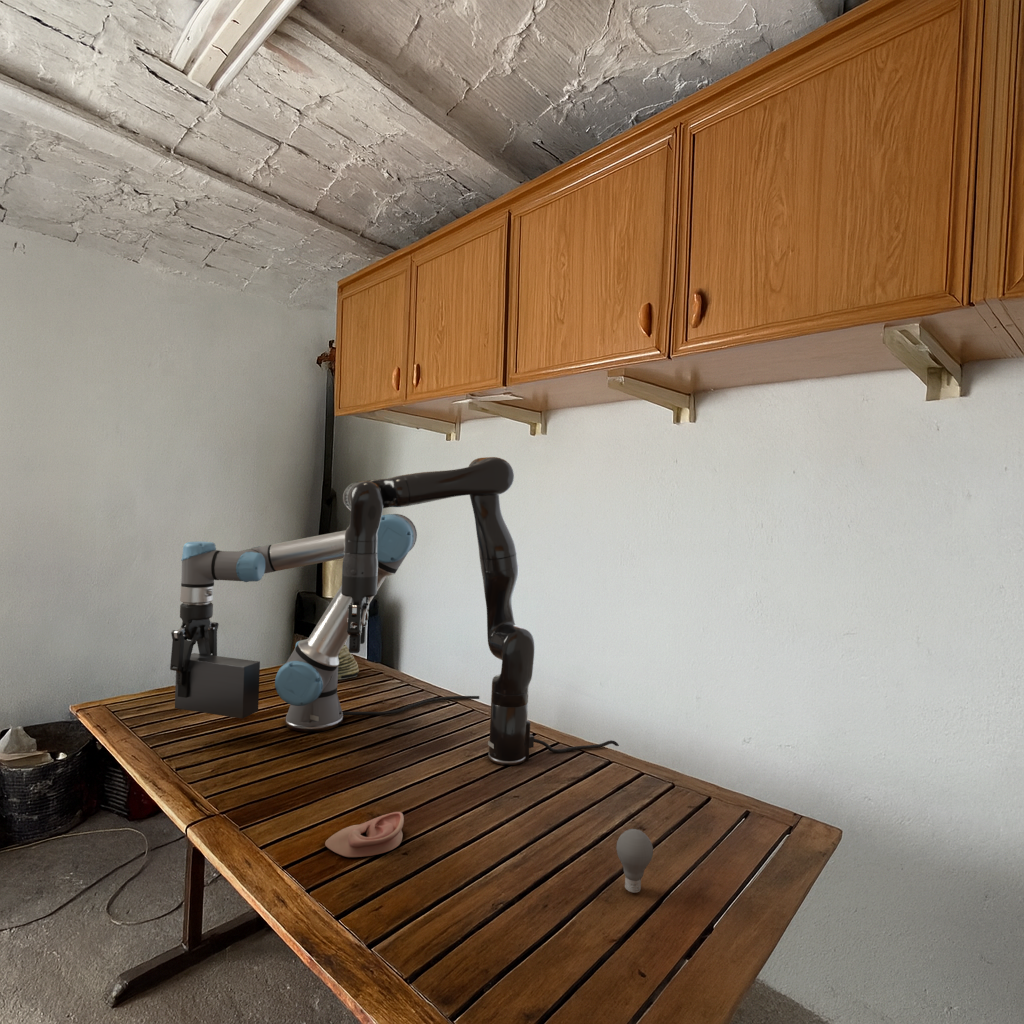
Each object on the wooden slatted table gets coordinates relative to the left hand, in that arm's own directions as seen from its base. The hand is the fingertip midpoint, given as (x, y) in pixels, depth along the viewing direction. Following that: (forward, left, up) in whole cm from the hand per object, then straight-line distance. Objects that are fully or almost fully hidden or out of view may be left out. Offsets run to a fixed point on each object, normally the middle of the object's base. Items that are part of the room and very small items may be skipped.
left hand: (193, 692), depth 161 cm
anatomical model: (+1, +70, -12) cm, 71 cm away
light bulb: (-20, +115, -12) cm, 117 cm away
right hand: (-11, +51, +19) cm, 56 cm away
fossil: (-57, -22, -12) cm, 62 cm away
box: (-3, +7, -3) cm, 8 cm away
